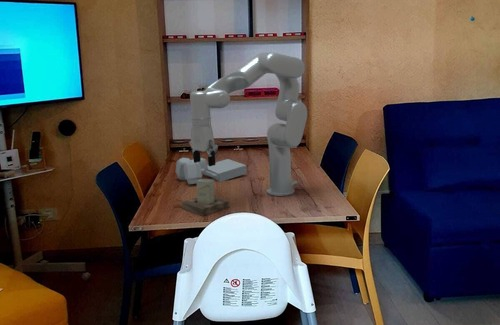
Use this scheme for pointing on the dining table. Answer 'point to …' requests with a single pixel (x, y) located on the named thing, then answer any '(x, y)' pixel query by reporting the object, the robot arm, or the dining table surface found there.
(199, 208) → the socket stand
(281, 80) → the robot arm
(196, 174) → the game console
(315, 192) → the dining table surface
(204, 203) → the skincare box
